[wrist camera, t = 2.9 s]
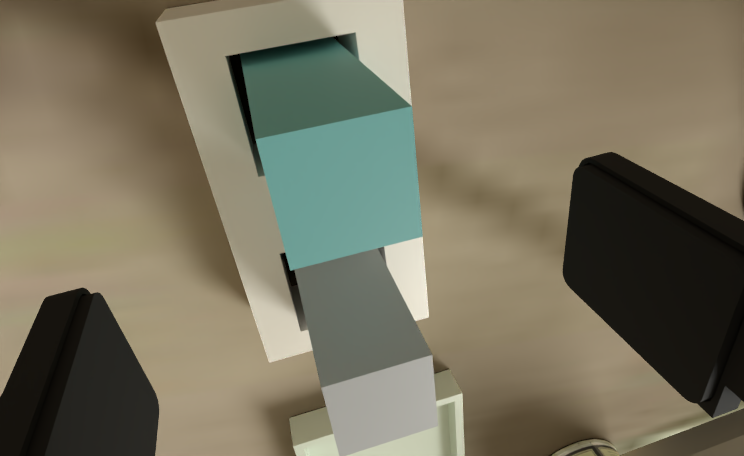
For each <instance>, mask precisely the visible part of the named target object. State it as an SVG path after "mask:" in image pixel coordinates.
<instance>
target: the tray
mask: <svg viewBox="0 0 744 456" xmlns="http://www.w3.org/2000/svg"><path fill="white" fill-rule="evenodd" d="M434 382H435V394H436V407H437V419H438V426H437V427H433V428H430V429H427V430H424V431H421V432H418V433H415V434H412V435H409V436H406V437H402V438H399V439H396V440H393V441H390V442H387V443H384V444H381V445H378V446H375V447H371V448H368V449H365V450H362V451H359V452H356V453H353V454H350V455H347V456H465V451H464V424H463V398H462V392H461V390H460V388H459V386H458V384H457V382H456V380H455V379H454V377H453V375H452V373H451V371H450V369H449V370H445V371H442V372H439V373H435V374H434ZM289 422H290V428H291V435H292V442H293V447H294V450H295V453H296V456H339V453H338V449H337V445H336V441H335V438H334V434H333V430H332V426H331V422H330V419H329V415H328V411H327V407H324V408H320V409H317V410H314V411H311V412H307V413H304V414H301V415H297V416H294V417H291V418H289Z"/></svg>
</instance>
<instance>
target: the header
mask: <svg viewBox="0 0 744 456" xmlns="http://www.w3.org/2000/svg"><path fill="white" fill-rule="evenodd" d="M155 23H156V26H157V29H158V32H159V35H160V38H161V41H162V44H163V47H164V50H165V53H166V56H167V59H168V62H169V65H170V68H171V71H172V74H173V77H174V80H175V83H176V86H177V89H178V92H179V95H180V98H181V101H182V104H183V107H184V110H185V113H186V116H187V119H188V122H189V125H190V128H191V131H192V134H193V137H194V140H195V143H196V146H197V149H198V152H199V155H200V158H201V161H202V164H203V167H204V169H205V172H206V175H207V178H208V181H209V184H210V187H211V190H212V193H213V196H214V199H215V202H216V205H217V208H218V211H219V214H220V217H221V220H222V223H223V226H224V229H225V232H226V235H227V238H228V241H229V244H230V247H231V250H232V253H233V256H234V259H235V262H236V265H237V268H238V271H239V274H240V277H241V280H242V283H243V286H244V289H245V292H246V295H247V298H248V301H249V304H250V307H251V310H252V313H253V316H254V319H255V322H256V325H257V327H258V330H259V333H260V336H261V339H262V342H263V345H264V348H265V351H266V354H267V357H268V360H269V363H270V362H273V361H277V360H280V359H284V358H287V357H291V356H295V355H298V354H302V353H305V352H309V351H312V350H313V349H312V345H311V340H310V336H309V332H308V327H307V323H306V318H305V314H304V310H303V305H302V301H301V297H300V292H299V288H298V285H295V286H292V287H291V284H290V280H289V276H288V273H287V269H286V265H285V261H284V258H283V254H282V253H285V249H284V245H283V241H282V238H281V234H280V230H279V226H278V223H277V219H276V215H275V211H274V207H273V204H272V200H271V196H270V192H269V189H268V185H267V181H266V177H265V174H264V170H263V166H262V162H261V158H260V155H259V151H258V147H257V144H253V143H252V139H251V135H250V132H249V128H248V124H247V120H246V117H245V113H244V109H243V106H242V102H241V98H240V94H239V91H238V87H237V83H236V80H235V76H234V72H233V69H232V65H231V61H230V57H229V55H234V54H240V53H245V52H251V51H256V50H262V49H267V48H273V47H278V46H283V45H289V44H294V43H300V42H305V41H311V40H316V39H322V38H327V37H333V36H338V40H339V43H340V44H341V45H342V46H343V47H344V48H346V49H347V50H348V51H349V52H350V53H351V54H352V55H354V56H355V57H356V58H357V59H358V60H359V61H361V62H362V63H363V64H364V65H365V66H366V67H367V68H369V69H370V70H371V71H372V72H373V73H374V74H375V75H377V76H378V77H379V78H380V79H381V80H382V81H384V82H385V83H386V84H387V85H388V86H389V87H390V88H392V89H393V90H394V91H395V92H396V93H397V94H398V95H400V96H401V97H402V98H403V99H404V100H405V101H407V102H408V103H409V104H410V105H411V106H412V104H411V92H410V79H409V67H408V55H407V43H406V31H405V19H404V6H403V0H216V1H210V2H204V3H198V4H192V5H186V6H180V7H174V8H168V9H165V10H164V12H163V13H162V14H161V16H160V17H159V18H158V19H157V21H156V22H155ZM378 250H379V252H380V254H381V256H382V258H383V260H384V262H385V263H386V265H387V267H388V269H389V271H390V273H391V275H392V277H393V279H394V281H395V283H396V285H397V287H398V289H399V291H400V293H401V295H402V297H403V299H404V301H405V303H406V304H407V306H408V308H409V310H410V312H411V314H412V316H413V318H414V320H415V321H417V320H421V319H424V318H428V317H429V311H428V299H427V287H426V275H425V262H424V250H423V238H422V237H419V238H415V239H412V240H408V241H404V242H400V243H396V244H392V245H388V246H384V247H380V248H378Z"/></svg>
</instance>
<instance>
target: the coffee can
mask: <svg viewBox="0 0 744 456" xmlns="http://www.w3.org/2000/svg"><path fill="white" fill-rule="evenodd" d="M551 456H619V453H618V452H617V451H616V449H615V447H614V446H613V445H612V444H611V443H609V442H608V441H604V440H599V439H592V440H584V441H580V442H576V443H574V444H572V445H569V446H567V447H565V448H563V449H561V450H559V451H557V452H556V453H554V454H553V455H551Z"/></svg>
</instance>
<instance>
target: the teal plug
mask: <svg viewBox="0 0 744 456" xmlns="http://www.w3.org/2000/svg"><path fill="white" fill-rule="evenodd" d="M240 57H241V63H242V68H243V74H244V79H245V85H246V90H247V96H248V101H249V107H250V112H251V118H252V123H253V129H254V134H255V140H256V143H257V147H258V151H259V155H260V158H261V162H262V166H263V170H264V174H265V177H266V181H267V185H268V189H269V192H270V196H271V200H272V204H273V207H274V211H275V215H276V219H277V223H278V226H279V230H280V234H281V238H282V241H283V245H284V249H285V253H286V257H287V260H288V264H289V268H290V271H291V270H295V269H299V268H302V267H306V266H310V265H314V264H318V263H322V262H326V261H330V260H334V259H337V258H341V257H345V256H349V255H353V254H357V253H361V252H365V251H369V250H373V249H376V248H380V247H384V246H388V245H392V244H396V243H400V242H404V241H408V240H412V239H415V238H419V237H423V235H422V223H421V211H420V199H419V186H418V174H417V162H416V149H415V137H414V125H413V113H412V106H411V105H410V104H409V103H408V102H407V101H405V100H404V99H403V98H402V97H401V96H400V95H398V94H397V93H396V92H395V91H394V90H393V89H392V88H390V87H389V86H388V85H387V84H386V83H385V82H384V81H382V80H381V79H380V78H379V77H378V76H377V75H375V74H374V73H373V72H372V71H371V70H370V69H369V68H367V67H366V66H365V65H364V64H363V63H362V62H361V61H359V60H358V59H357V58H356V57H355V56H354V55H352V54H351V53H350V52H349V51H348V50H347V49H346V48H344V47H343V46H342V45H341V44H340V43H339V42H338V41H336V40H335V39H334V38H333V37H327V38H322V39H316V40H311V41H305V42H300V43H294V44H289V45H283V46H278V47H273V48H267V49H262V50H256V51H251V52H245V53H240Z"/></svg>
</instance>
